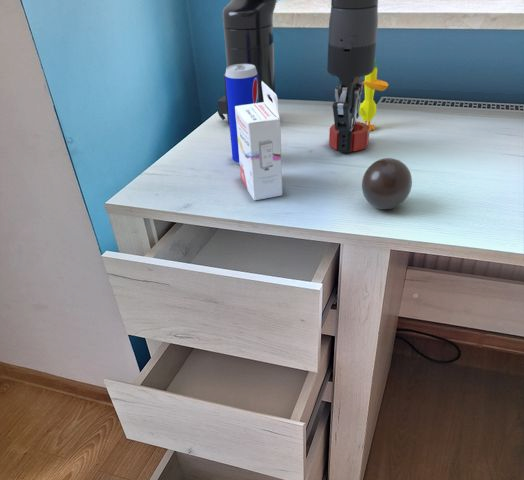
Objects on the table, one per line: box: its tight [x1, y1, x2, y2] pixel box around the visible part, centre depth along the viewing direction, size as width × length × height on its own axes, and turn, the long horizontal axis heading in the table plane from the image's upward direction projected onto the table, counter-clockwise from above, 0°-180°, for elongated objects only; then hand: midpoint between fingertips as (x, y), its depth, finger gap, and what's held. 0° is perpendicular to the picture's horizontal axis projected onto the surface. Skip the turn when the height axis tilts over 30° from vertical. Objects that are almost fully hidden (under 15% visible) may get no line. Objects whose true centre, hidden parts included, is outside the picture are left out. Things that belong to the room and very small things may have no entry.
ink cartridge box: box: [235, 81, 283, 201], centre depth 78 cm, size 9×5×15 cm, turn 17°
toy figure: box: [359, 59, 389, 132], centre depth 97 cm, size 7×4×12 cm, turn 37°
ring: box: [328, 121, 371, 153], centre depth 94 cm, size 7×7×3 cm
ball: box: [361, 157, 413, 210], centre depth 74 cm, size 7×7×7 cm
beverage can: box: [225, 64, 259, 166], centre depth 87 cm, size 5×5×15 cm
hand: (345, 149), depth 93 cm, fingers closed on ring, 1 cm apart
